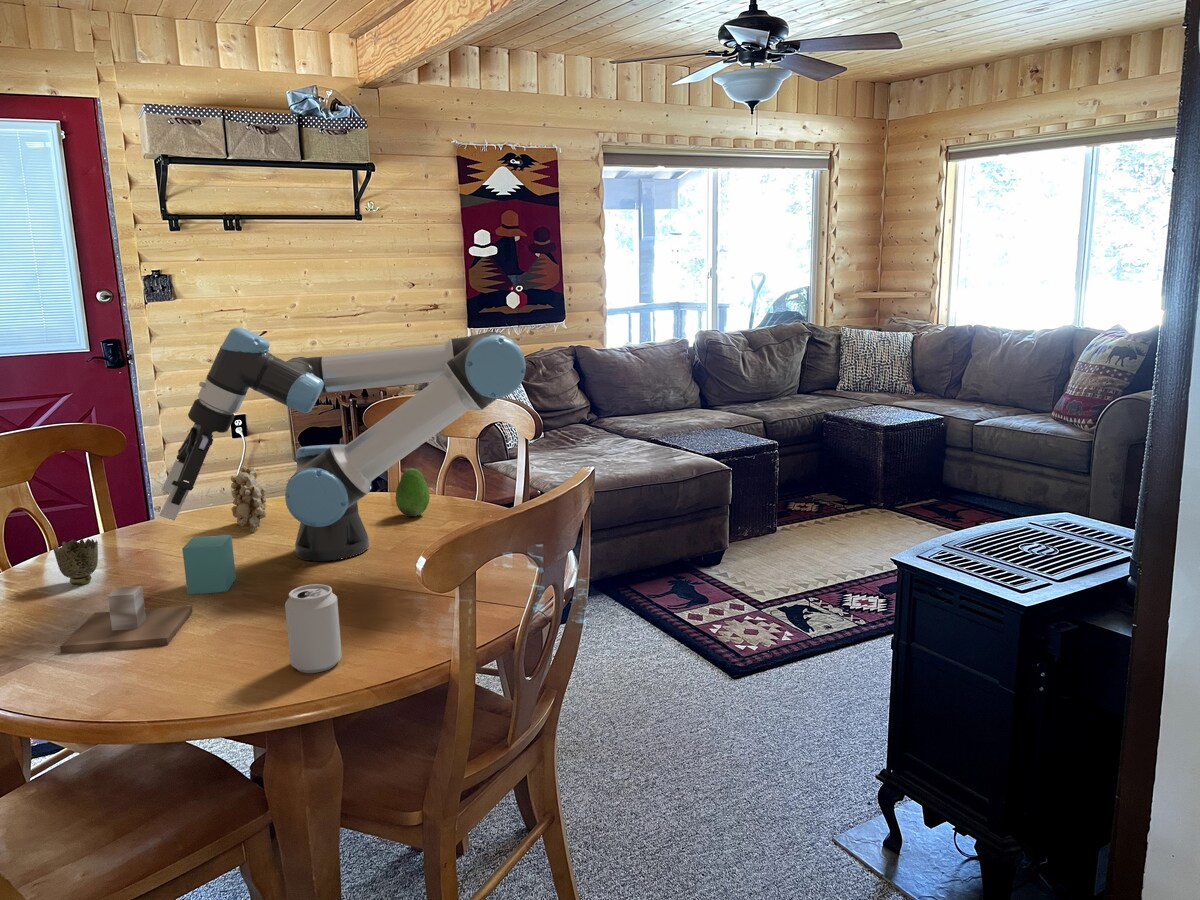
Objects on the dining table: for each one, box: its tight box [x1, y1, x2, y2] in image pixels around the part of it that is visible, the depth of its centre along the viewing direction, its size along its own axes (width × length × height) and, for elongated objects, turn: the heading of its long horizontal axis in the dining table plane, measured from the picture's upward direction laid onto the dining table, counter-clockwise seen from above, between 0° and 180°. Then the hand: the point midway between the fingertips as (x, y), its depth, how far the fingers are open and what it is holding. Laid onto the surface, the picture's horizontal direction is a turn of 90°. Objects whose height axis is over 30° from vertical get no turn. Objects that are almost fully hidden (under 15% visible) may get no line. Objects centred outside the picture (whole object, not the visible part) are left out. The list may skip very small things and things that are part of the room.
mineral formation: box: [230, 465, 267, 533], centre depth 205 cm, size 8×13×15 cm, turn 31°
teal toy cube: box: [182, 534, 237, 595], centre depth 167 cm, size 7×7×9 cm
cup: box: [52, 538, 99, 586], centre depth 170 cm, size 8×7×8 cm
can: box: [284, 583, 342, 674], centre depth 133 cm, size 8×8×12 cm
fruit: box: [395, 467, 431, 517], centre depth 213 cm, size 8×8×12 cm
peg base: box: [59, 585, 194, 654], centre depth 146 cm, size 16×14×7 cm
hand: (167, 504), depth 167 cm, fingers open, 13 cm apart
